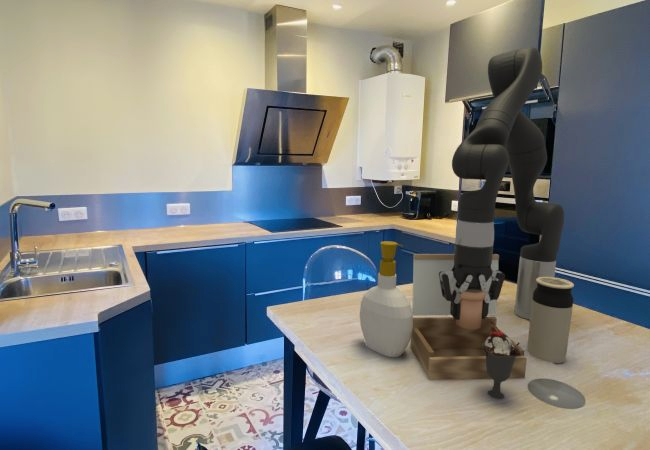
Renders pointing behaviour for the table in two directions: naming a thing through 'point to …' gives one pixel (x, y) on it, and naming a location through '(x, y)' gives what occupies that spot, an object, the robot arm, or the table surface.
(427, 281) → the frame lid
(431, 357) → the box
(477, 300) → the clay pot
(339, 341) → the table surface
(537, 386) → the slate saucer
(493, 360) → the sundae
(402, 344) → the soap bottle
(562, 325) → the travel mug
